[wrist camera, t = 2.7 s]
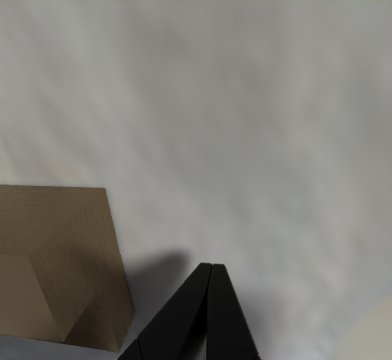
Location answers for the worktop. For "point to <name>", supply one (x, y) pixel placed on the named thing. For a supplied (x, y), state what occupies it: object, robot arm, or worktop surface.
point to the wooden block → (61, 267)
